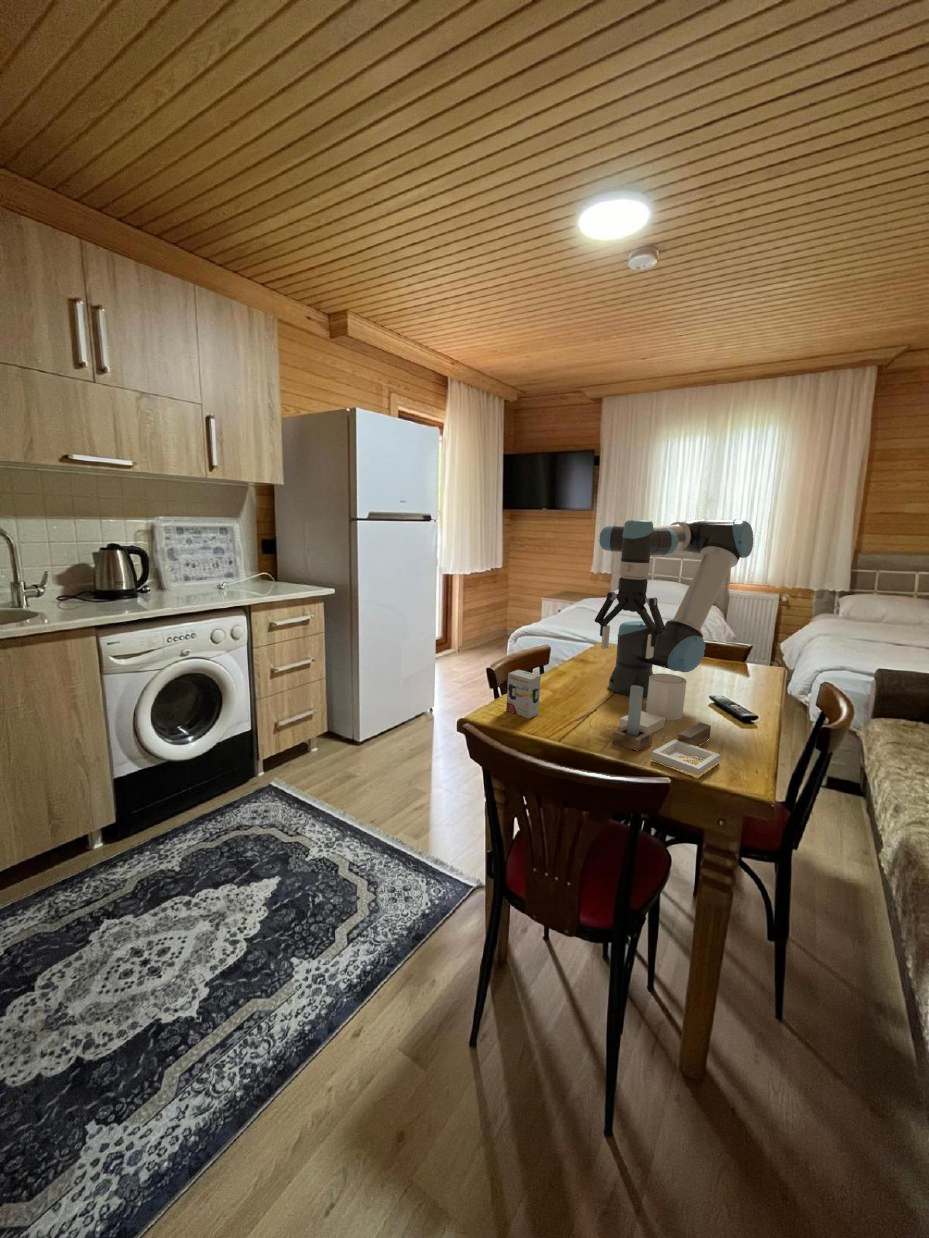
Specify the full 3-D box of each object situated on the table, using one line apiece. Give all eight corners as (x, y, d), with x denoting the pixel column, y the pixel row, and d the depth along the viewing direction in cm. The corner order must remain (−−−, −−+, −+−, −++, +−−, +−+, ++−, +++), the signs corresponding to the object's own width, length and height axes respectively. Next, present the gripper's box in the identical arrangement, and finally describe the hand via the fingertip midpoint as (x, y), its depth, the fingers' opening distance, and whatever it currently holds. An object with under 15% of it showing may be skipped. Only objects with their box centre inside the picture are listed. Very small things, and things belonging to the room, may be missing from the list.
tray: (651, 761, 127) (652, 751, 127) (673, 748, 135) (674, 739, 134) (697, 779, 119) (698, 768, 119) (718, 764, 127) (720, 754, 126)
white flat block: (619, 728, 147) (620, 718, 147) (637, 719, 154) (638, 709, 154) (646, 737, 142) (647, 727, 141) (663, 728, 148) (664, 717, 148)
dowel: (623, 742, 137) (628, 687, 134) (629, 739, 139) (634, 684, 136) (633, 746, 135) (639, 690, 132) (640, 743, 137) (645, 687, 134)
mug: (682, 726, 149) (686, 689, 147) (644, 720, 153) (647, 684, 151) (682, 710, 162) (686, 676, 159) (647, 704, 165) (650, 671, 163)
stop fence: (676, 748, 134) (678, 733, 134) (698, 736, 142) (699, 722, 142) (688, 752, 132) (690, 737, 131) (709, 739, 140) (711, 725, 139)
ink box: (505, 710, 157) (506, 672, 155) (515, 706, 161) (517, 668, 158) (529, 718, 151) (531, 679, 149) (539, 714, 155) (541, 675, 153)
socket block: (612, 742, 137) (613, 731, 137) (626, 735, 142) (627, 724, 141) (637, 751, 132) (638, 740, 131) (651, 744, 137) (652, 733, 136)
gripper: (586, 573, 152) (580, 646, 156) (672, 583, 135) (663, 664, 139) (600, 572, 158) (594, 642, 162) (684, 581, 141) (675, 659, 145)
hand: (626, 652), depth 150 cm, fingers open, 13 cm apart
